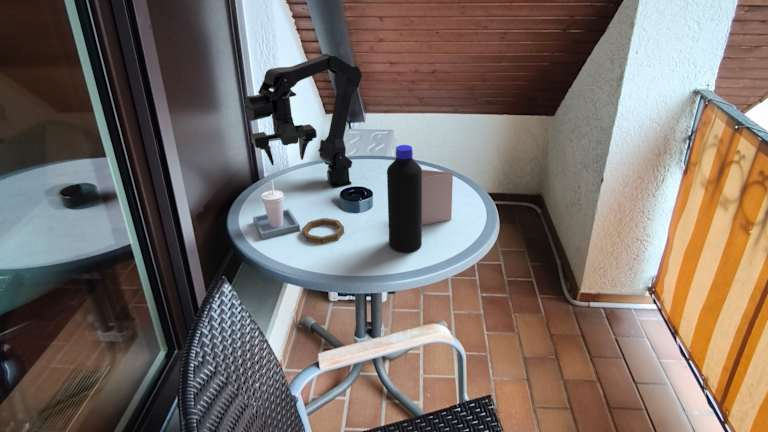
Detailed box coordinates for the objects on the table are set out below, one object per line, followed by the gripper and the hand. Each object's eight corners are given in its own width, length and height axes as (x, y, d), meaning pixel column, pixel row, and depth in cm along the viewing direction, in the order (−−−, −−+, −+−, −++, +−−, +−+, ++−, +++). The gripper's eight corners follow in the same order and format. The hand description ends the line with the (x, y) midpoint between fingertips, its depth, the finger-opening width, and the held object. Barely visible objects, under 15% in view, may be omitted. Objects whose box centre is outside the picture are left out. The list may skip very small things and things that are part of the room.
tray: (289, 214, 164) (288, 209, 163) (300, 230, 155) (299, 224, 154) (253, 223, 160) (252, 217, 159) (262, 240, 151) (261, 233, 150)
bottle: (425, 238, 149) (426, 143, 136) (416, 255, 142) (416, 156, 129) (395, 234, 152) (392, 140, 139) (384, 250, 145) (381, 152, 131)
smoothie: (292, 222, 158) (286, 178, 152) (277, 232, 154) (271, 187, 147) (275, 217, 161) (269, 174, 155) (260, 227, 157) (253, 182, 150)
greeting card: (451, 218, 159) (453, 171, 152) (446, 230, 153) (448, 182, 146) (414, 213, 162) (414, 167, 155) (407, 225, 156) (407, 178, 149)
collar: (335, 220, 160) (334, 215, 159) (348, 237, 151) (348, 232, 150) (299, 229, 156) (298, 223, 155) (310, 247, 147) (310, 241, 146)
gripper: (256, 126, 149) (263, 177, 157) (320, 115, 156) (324, 165, 163) (247, 115, 158) (255, 164, 166) (308, 105, 165) (313, 153, 172)
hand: (287, 162), depth 167 cm, fingers open, 9 cm apart
